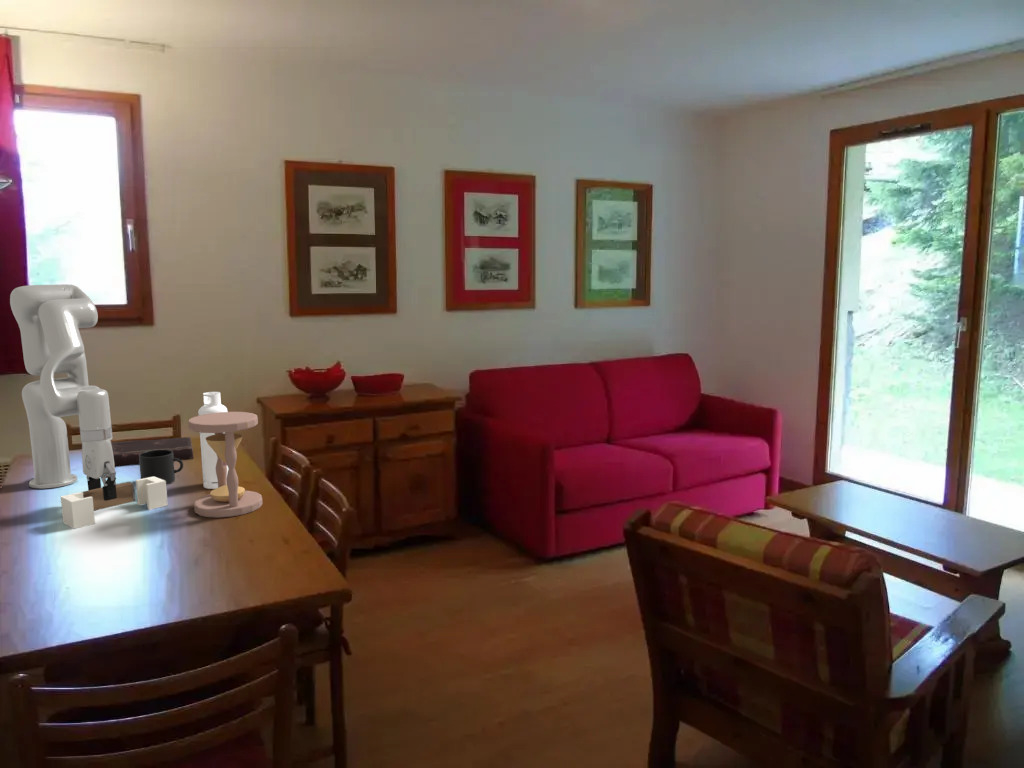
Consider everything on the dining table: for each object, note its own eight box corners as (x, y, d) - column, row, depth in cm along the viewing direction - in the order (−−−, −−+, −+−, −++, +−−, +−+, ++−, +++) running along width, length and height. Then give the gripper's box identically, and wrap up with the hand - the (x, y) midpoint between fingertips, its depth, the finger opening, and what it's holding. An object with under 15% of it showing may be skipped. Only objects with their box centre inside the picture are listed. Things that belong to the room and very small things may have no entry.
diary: (193, 461, 261) (192, 447, 260) (110, 470, 250) (109, 455, 249) (191, 448, 277) (190, 434, 276) (113, 455, 267) (112, 441, 266)
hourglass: (195, 501, 215) (189, 414, 211) (260, 494, 221) (256, 409, 217) (193, 521, 199) (186, 427, 195) (264, 513, 205) (258, 421, 201)
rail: (68, 513, 205) (66, 495, 205) (130, 498, 218) (129, 481, 217) (73, 515, 203) (71, 497, 202) (135, 500, 216) (134, 483, 215)
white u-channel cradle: (63, 522, 198) (60, 496, 197) (155, 500, 216) (153, 476, 215) (74, 528, 194) (71, 501, 192) (167, 505, 212) (165, 480, 211)
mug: (184, 483, 232) (182, 454, 231) (140, 488, 228) (137, 458, 226) (184, 475, 241) (182, 447, 239) (142, 479, 236) (139, 451, 235)
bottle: (197, 487, 229) (190, 394, 224) (217, 479, 236) (211, 390, 231) (218, 490, 226) (212, 396, 221) (237, 482, 233) (232, 391, 228)
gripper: (68, 433, 210) (75, 494, 212) (95, 441, 199) (101, 505, 201) (97, 428, 216) (103, 487, 218) (124, 436, 204) (130, 498, 207)
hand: (102, 496), depth 210 cm, fingers open, 9 cm apart
